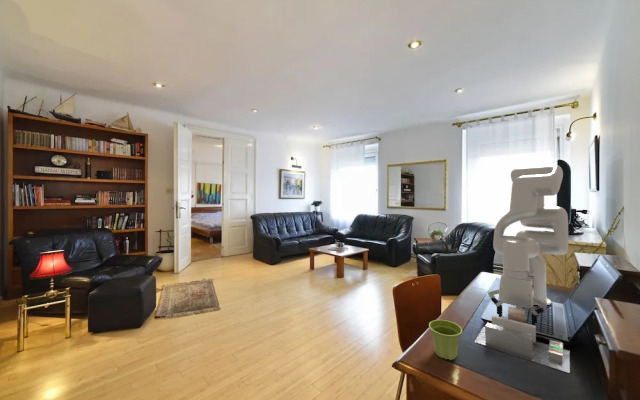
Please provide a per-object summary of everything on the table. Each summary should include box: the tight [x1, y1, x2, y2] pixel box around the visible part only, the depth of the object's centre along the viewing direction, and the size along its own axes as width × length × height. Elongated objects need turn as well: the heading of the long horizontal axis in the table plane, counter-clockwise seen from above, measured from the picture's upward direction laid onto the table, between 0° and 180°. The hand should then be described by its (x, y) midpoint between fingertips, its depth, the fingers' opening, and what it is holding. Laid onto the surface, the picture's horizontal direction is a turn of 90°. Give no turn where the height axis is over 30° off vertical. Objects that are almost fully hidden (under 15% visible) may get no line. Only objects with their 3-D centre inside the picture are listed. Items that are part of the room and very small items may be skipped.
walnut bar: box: [507, 306, 527, 324], centre depth 95 cm, size 12×5×5 cm, turn 143°
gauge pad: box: [491, 314, 562, 343], centre depth 87 cm, size 2×18×5 cm, turn 46°
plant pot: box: [428, 319, 463, 361], centre depth 81 cm, size 9×9×9 cm
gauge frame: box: [474, 322, 571, 375], centre depth 83 cm, size 13×23×6 cm, turn 46°
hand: (516, 320), depth 95 cm, fingers open, 9 cm apart
